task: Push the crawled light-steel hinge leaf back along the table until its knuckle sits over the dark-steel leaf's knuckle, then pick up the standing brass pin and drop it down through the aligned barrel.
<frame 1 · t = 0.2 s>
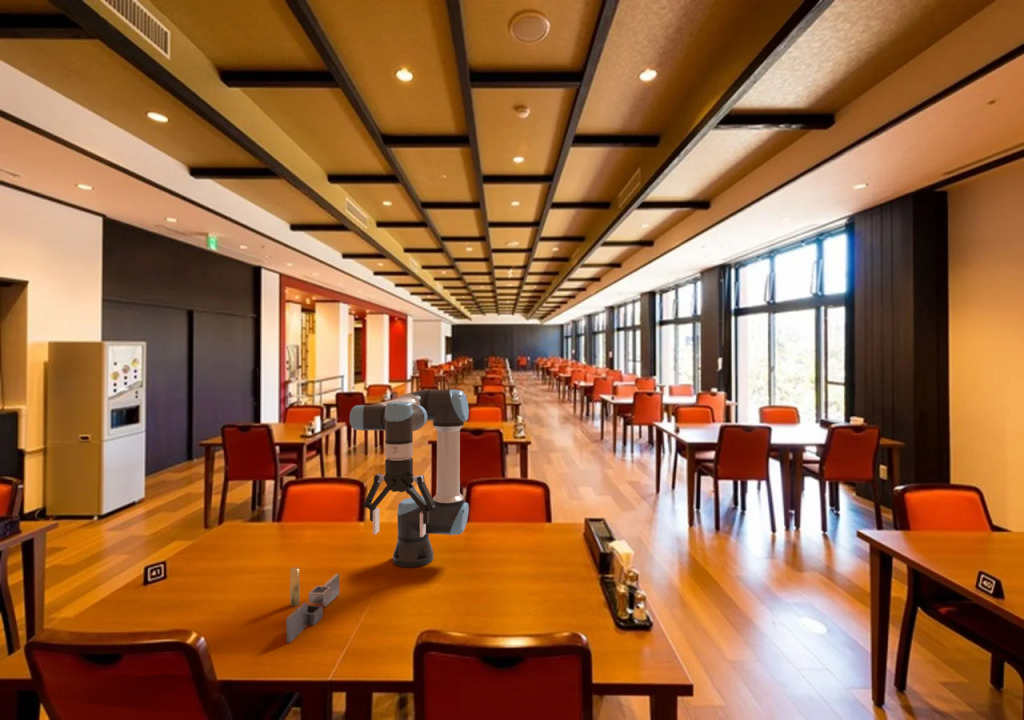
hand: (399, 534, 136), 28 cm above the table, fingers open, 13 cm apart
leaf B: (327, 593, 152), point 3 cm above the table, slide at 5.0 cm
leaf A: (311, 620, 143), on the table
pin: (295, 604, 152), on the table
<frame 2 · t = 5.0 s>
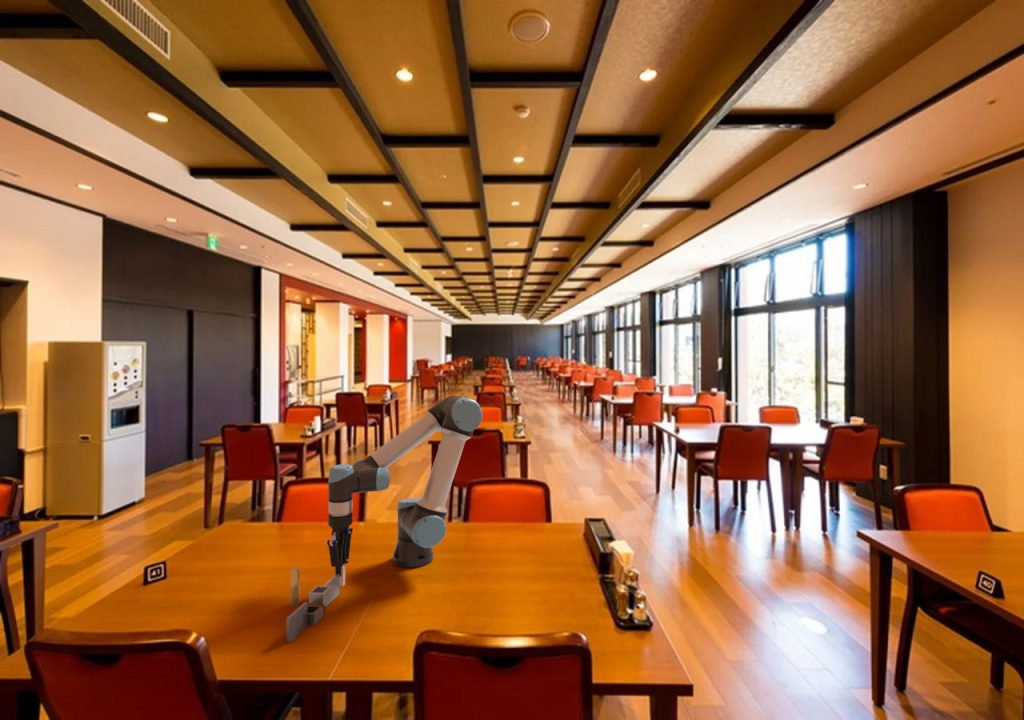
hand: (340, 584, 161), 2 cm above the table, fingers closed
leaf B: (327, 593, 152), point 3 cm above the table, slide at 4.9 cm, touching gripper
everything else where it was.
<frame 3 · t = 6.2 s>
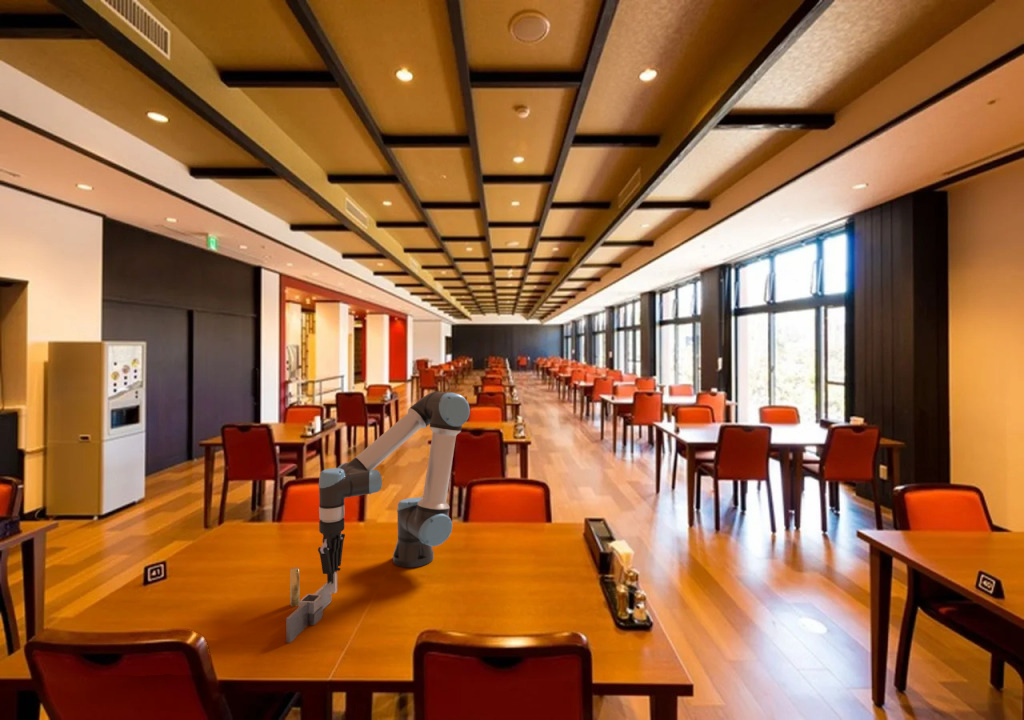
hand: (332, 592, 155), 2 cm above the table, fingers closed
leaf B: (318, 601, 147), point 3 cm above the table, slide at -0.2 cm, touching gripper
everything else where it was.
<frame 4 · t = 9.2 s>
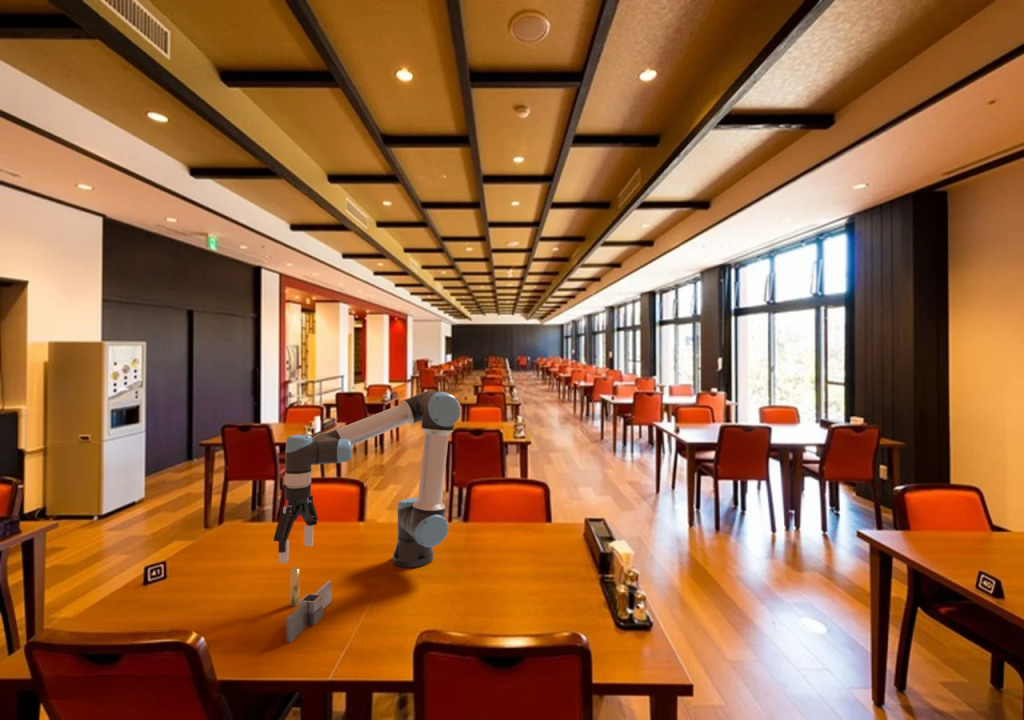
hand: (296, 553, 152), 16 cm above the table, fingers open, 13 cm apart
leaf B: (318, 601, 147), point 3 cm above the table, slide at 0.0 cm
everything else where it was.
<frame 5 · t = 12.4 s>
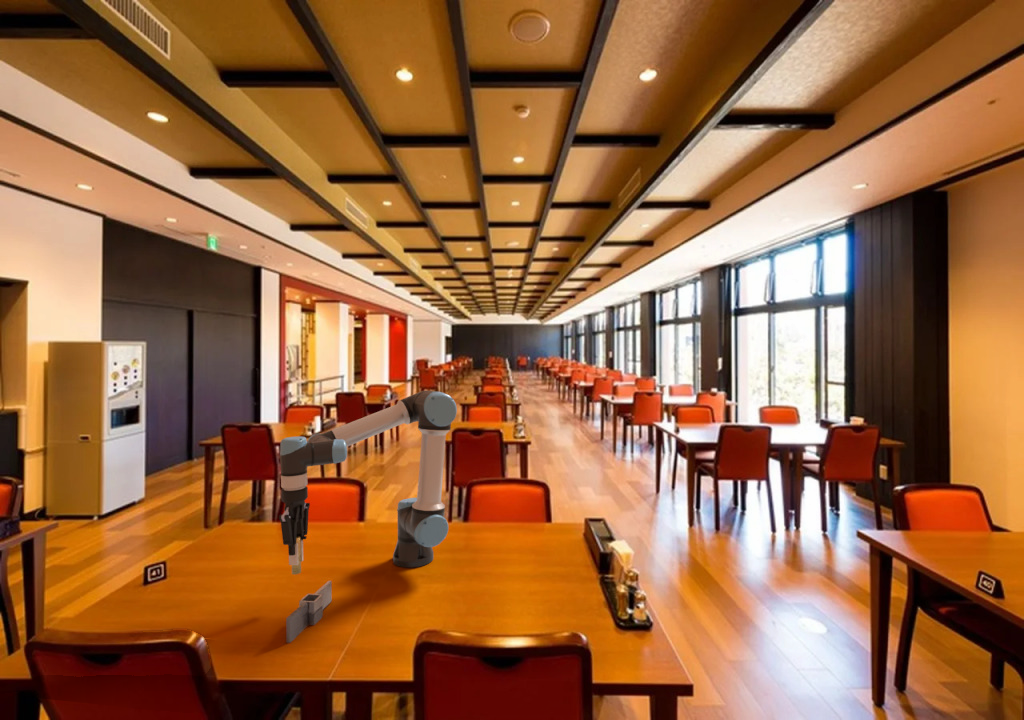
hand: (296, 562, 152), 13 cm above the table, fingers closed on pin, 2 cm apart
pin: (296, 572, 152), point 10 cm above the table, touching gripper
everything else where it was.
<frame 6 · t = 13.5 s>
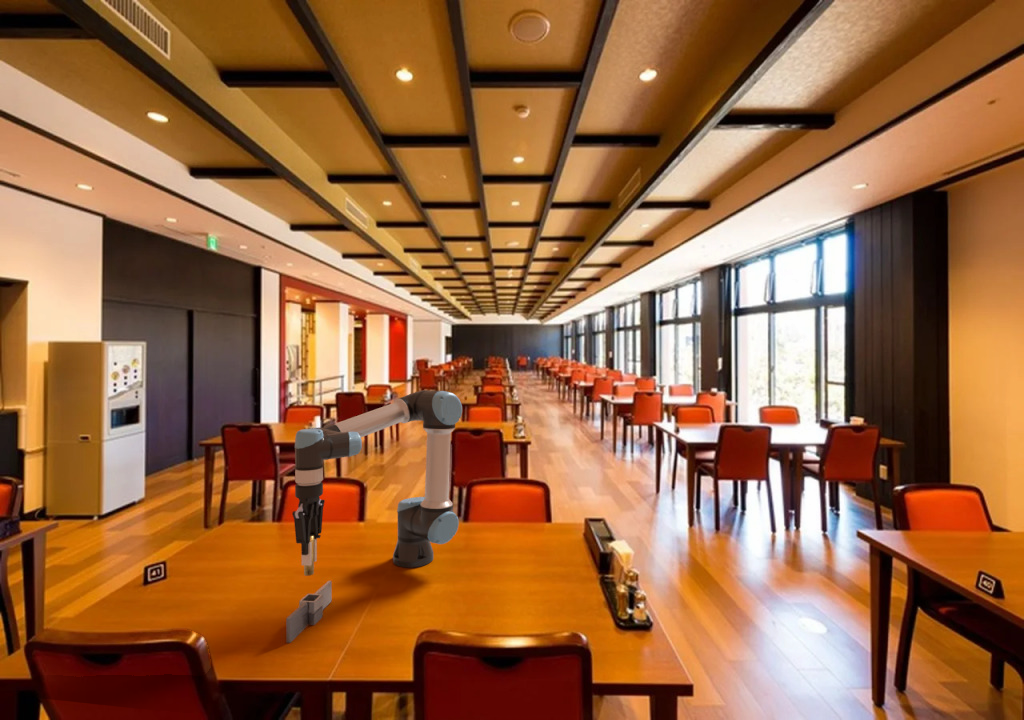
hand: (309, 562, 143), 17 cm above the table, fingers closed on pin, 2 cm apart
pin: (308, 573, 143), point 13 cm above the table, touching gripper
everything else where it was.
when the fingers open (7 cm above the table, at t = 15.4 s): pin drops 4 cm, resting in leaf A.
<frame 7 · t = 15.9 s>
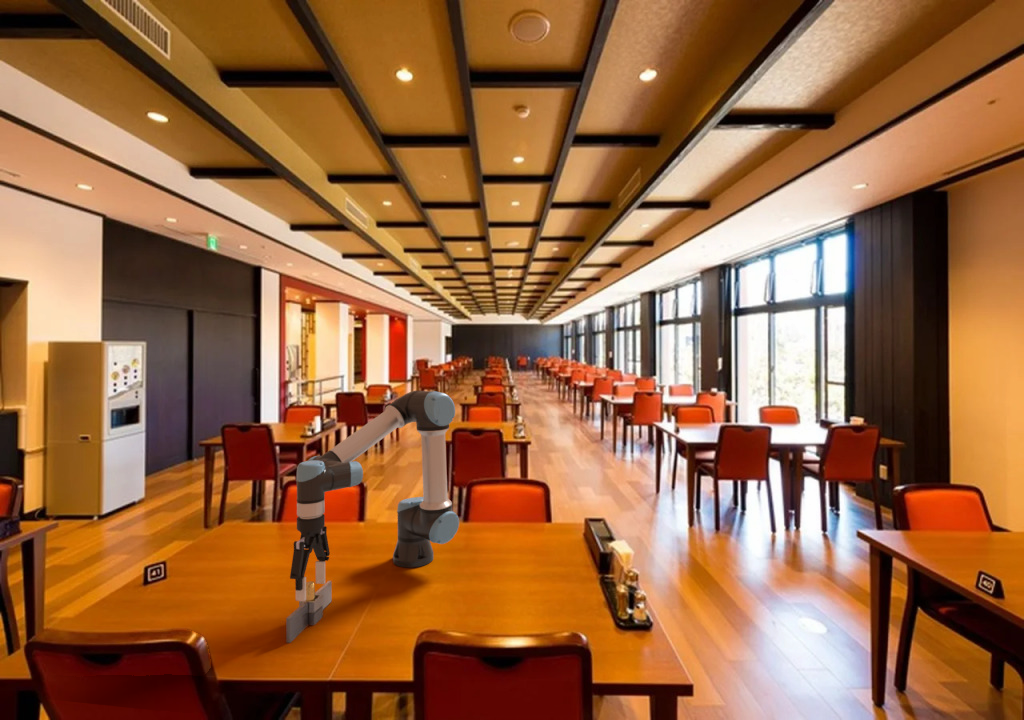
hand: (311, 591, 143), 8 cm above the table, fingers open, 10 cm apart
pin: (311, 620, 143), resting in leaf A
everything else where it was.
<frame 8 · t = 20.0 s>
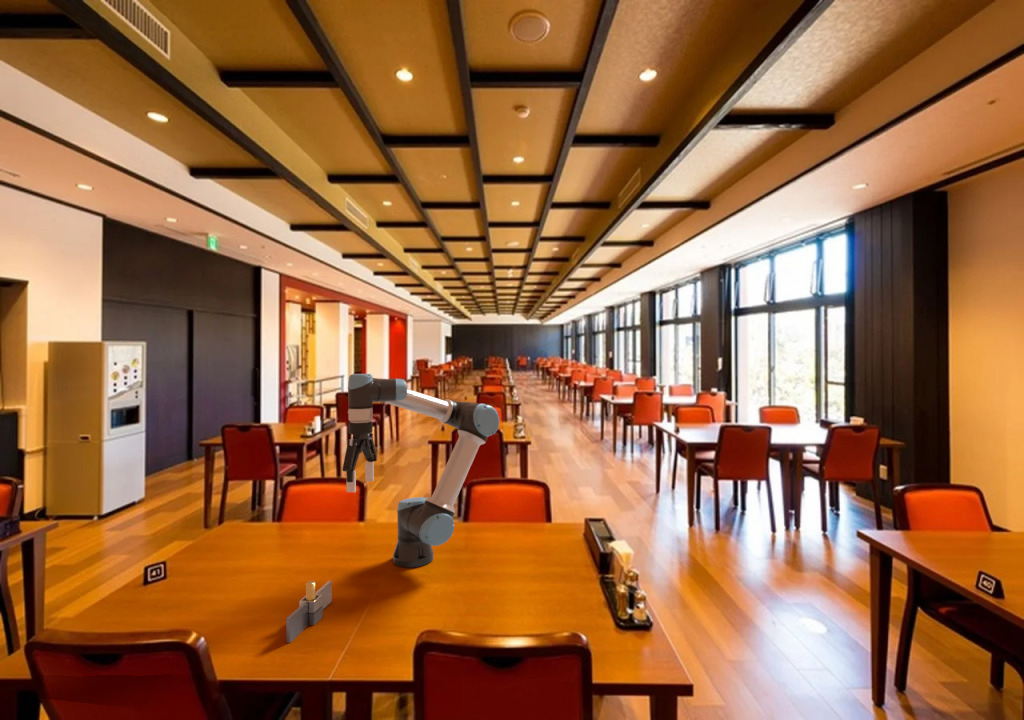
hand: (360, 486, 159), 35 cm above the table, fingers open, 13 cm apart
nothing on the table moved.
at the end: leaf B slide at 0.0 cm; pin 0.1 cm off-centre on the leaf A, point 0.0 cm above the leaf A's base; pin tilted 0° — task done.
